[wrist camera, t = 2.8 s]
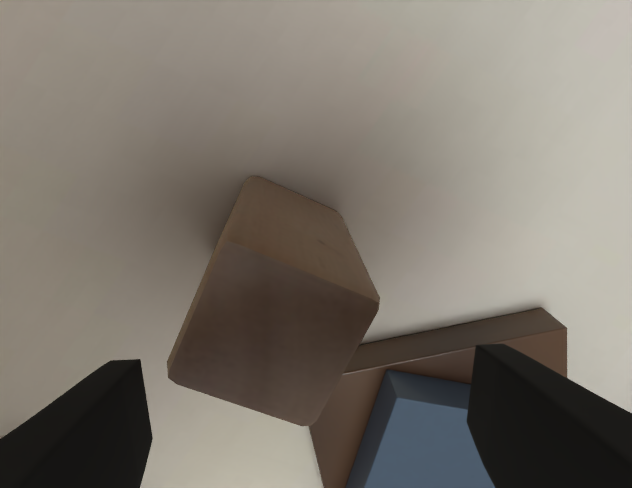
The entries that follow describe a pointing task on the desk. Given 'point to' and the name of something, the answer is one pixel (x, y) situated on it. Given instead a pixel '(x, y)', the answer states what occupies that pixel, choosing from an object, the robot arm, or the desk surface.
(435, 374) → the base slab
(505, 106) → the desk surface
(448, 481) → the top tile
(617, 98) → the desk surface
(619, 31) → the desk surface
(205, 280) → the wooden block
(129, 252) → the desk surface
